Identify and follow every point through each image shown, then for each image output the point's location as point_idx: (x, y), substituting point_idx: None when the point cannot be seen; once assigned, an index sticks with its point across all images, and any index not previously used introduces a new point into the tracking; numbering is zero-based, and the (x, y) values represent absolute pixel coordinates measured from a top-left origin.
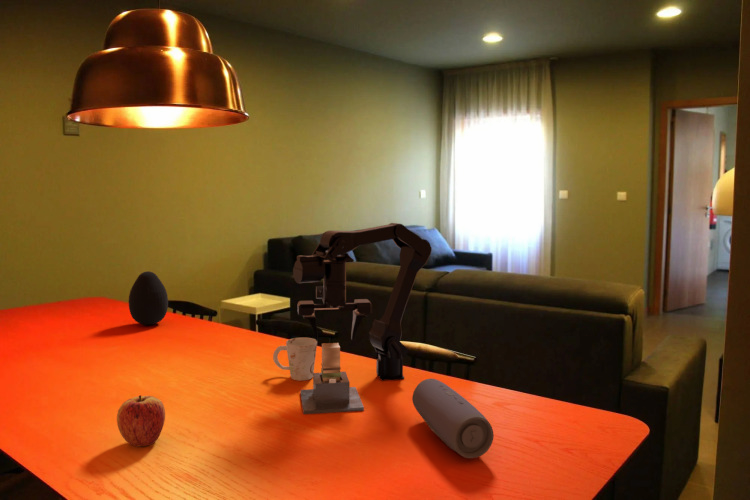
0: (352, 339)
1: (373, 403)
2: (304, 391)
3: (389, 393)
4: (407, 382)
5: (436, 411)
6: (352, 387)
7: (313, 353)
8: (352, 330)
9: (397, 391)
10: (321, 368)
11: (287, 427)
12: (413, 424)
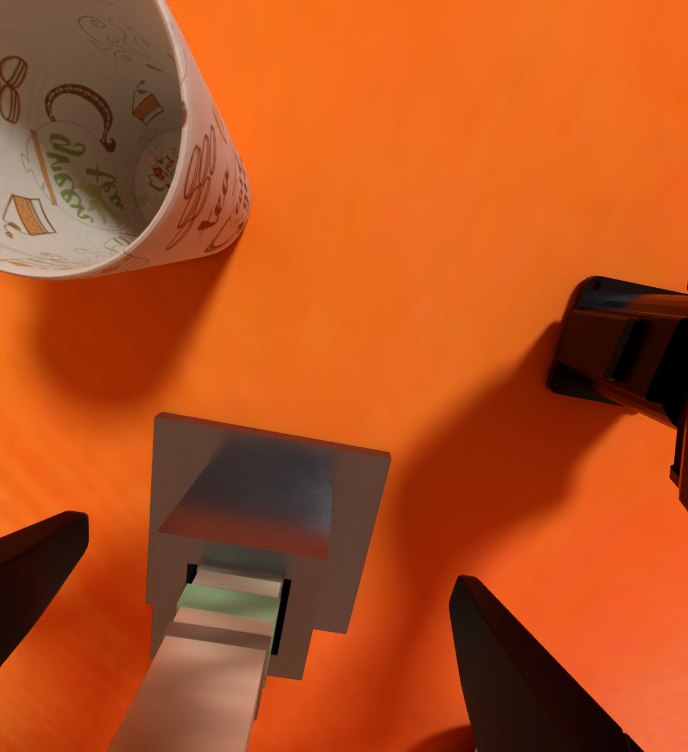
0: (453, 610)
1: (399, 583)
2: (169, 440)
3: (497, 523)
4: (636, 440)
5: None
6: (376, 461)
7: (184, 244)
8: (493, 728)
9: (536, 515)
10: (177, 607)
11: (98, 653)
12: (439, 728)
